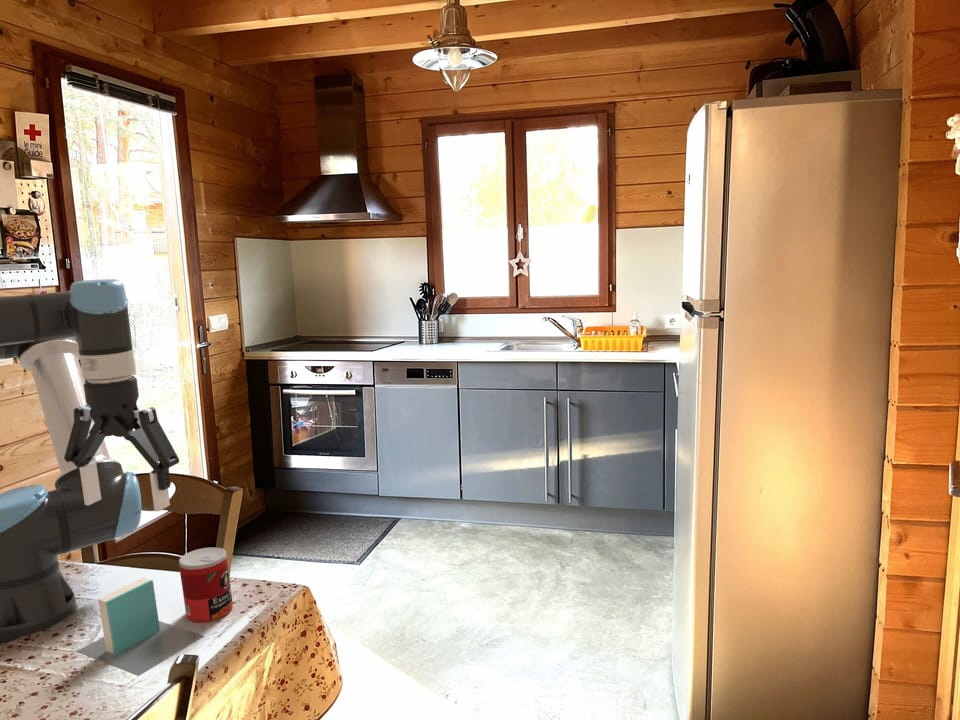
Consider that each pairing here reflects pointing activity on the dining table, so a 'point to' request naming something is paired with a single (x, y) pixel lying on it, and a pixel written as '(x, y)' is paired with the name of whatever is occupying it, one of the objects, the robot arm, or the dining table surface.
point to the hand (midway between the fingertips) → (127, 505)
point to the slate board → (145, 649)
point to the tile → (129, 615)
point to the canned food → (206, 584)
